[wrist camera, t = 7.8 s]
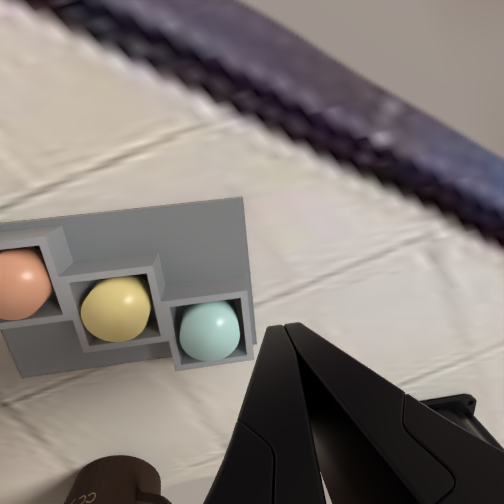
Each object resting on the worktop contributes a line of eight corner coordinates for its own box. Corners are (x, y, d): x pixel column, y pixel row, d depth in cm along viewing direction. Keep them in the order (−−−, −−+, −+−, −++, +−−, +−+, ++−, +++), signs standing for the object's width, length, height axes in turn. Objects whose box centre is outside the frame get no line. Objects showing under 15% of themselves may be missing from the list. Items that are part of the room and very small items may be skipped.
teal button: (234, 290, 20) (236, 307, 18) (239, 336, 22) (242, 356, 20) (178, 297, 20) (174, 315, 18) (186, 344, 21) (184, 365, 19)
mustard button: (147, 267, 19) (140, 283, 17) (158, 318, 20) (153, 337, 19) (86, 275, 19) (73, 291, 17) (101, 325, 20) (90, 346, 18)
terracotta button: (48, 241, 18) (30, 255, 16) (66, 296, 19) (51, 315, 17) (-18, 249, 18) (-45, 264, 16) (5, 304, 19) (-18, 324, 17)
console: (242, 196, 19) (246, 206, 17) (256, 340, 23) (261, 363, 21) (-37, 227, 18) (-72, 241, 16) (25, 373, 22) (3, 402, 19)
